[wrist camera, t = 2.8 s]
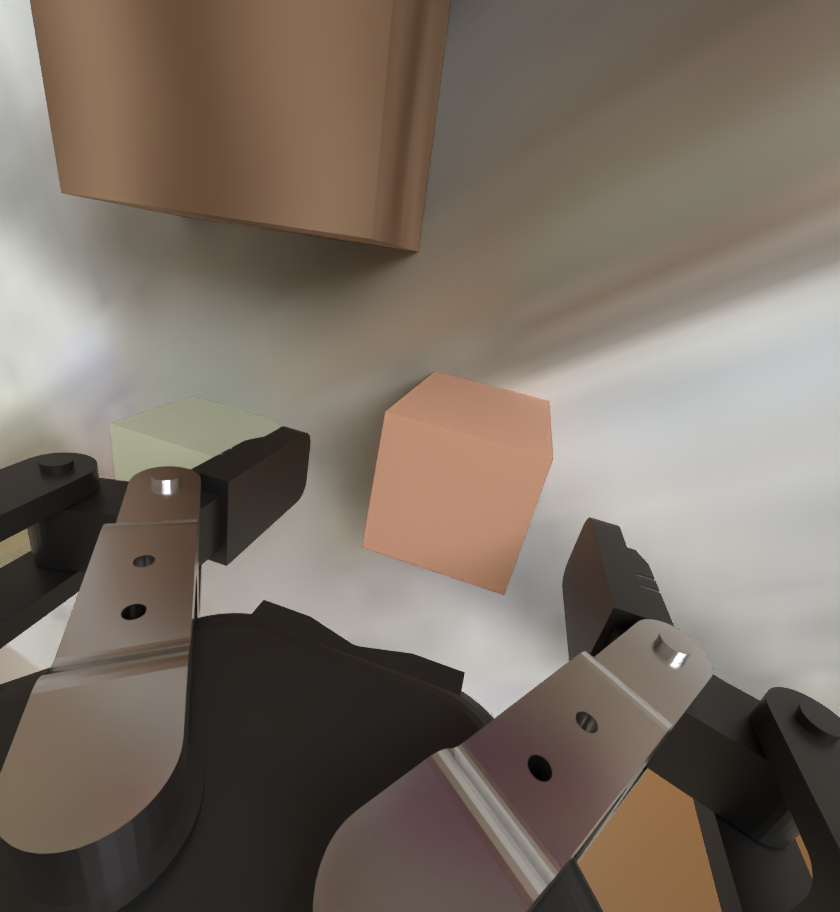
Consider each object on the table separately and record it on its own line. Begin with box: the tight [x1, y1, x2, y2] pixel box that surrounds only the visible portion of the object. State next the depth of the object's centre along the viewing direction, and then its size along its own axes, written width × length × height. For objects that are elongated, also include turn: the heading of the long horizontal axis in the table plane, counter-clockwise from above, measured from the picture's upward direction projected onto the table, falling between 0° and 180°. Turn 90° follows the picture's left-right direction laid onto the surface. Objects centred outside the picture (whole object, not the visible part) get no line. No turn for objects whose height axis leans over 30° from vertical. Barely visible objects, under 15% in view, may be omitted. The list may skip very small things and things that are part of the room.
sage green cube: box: [109, 397, 280, 481], centre depth 19 cm, size 4×4×4 cm
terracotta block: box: [362, 372, 553, 595], centre depth 15 cm, size 4×4×6 cm
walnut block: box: [30, 0, 451, 252], centre depth 12 cm, size 10×10×5 cm
